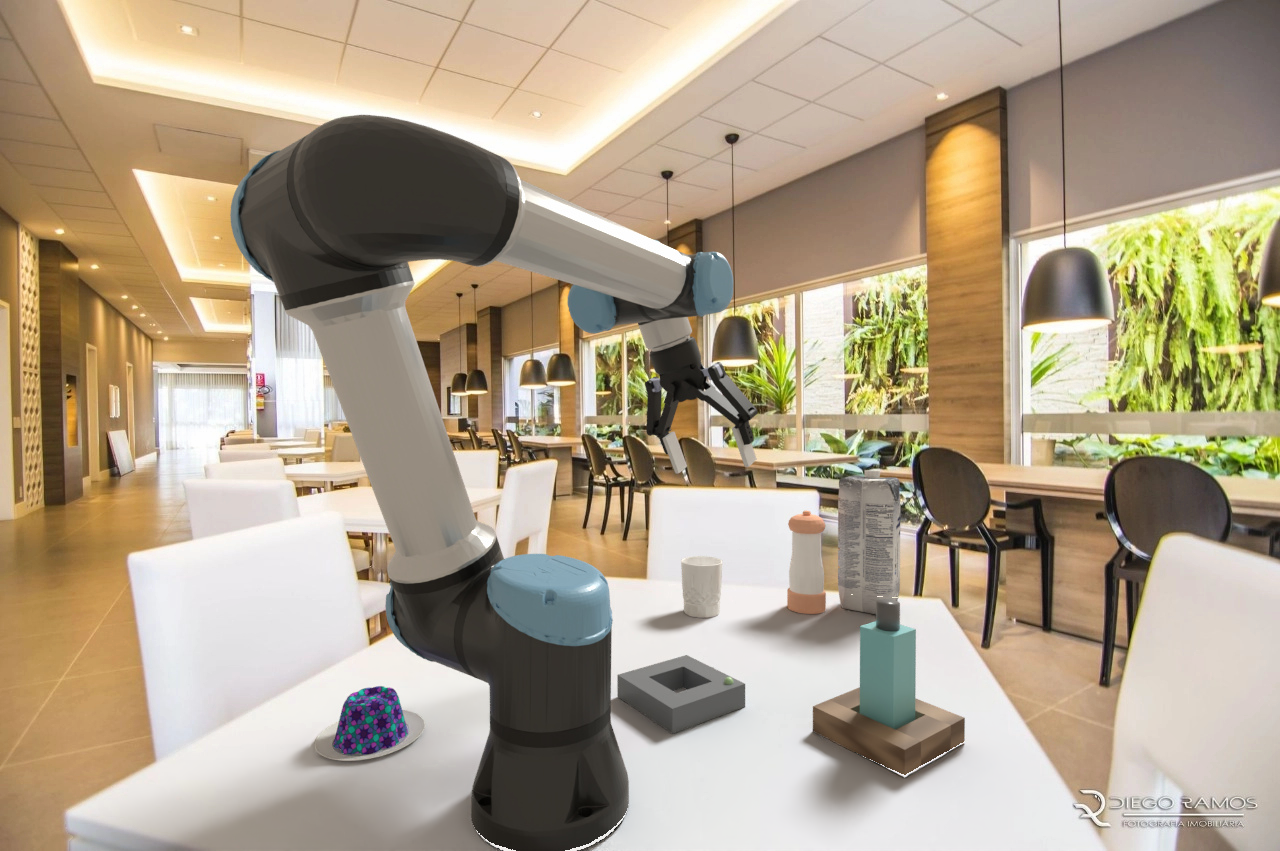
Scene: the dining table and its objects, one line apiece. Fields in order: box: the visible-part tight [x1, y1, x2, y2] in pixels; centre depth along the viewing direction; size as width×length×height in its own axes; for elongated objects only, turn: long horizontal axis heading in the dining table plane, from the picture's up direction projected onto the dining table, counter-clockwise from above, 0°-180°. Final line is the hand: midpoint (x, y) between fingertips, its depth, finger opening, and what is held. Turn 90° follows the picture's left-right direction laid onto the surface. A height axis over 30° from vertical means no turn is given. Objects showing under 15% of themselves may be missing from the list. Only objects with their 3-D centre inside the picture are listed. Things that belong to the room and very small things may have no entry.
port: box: [616, 654, 746, 734], centre depth 83 cm, size 12×12×4 cm
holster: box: [812, 686, 966, 775], centre depth 74 cm, size 12×12×3 cm
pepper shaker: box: [786, 510, 827, 615], centre depth 123 cm, size 7×7×19 cm
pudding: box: [314, 685, 426, 762], centre depth 74 cm, size 12×12×5 cm
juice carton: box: [837, 469, 901, 616], centre depth 123 cm, size 9×10×27 cm
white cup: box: [680, 555, 723, 619], centre depth 121 cm, size 8×8×10 cm
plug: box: [859, 599, 917, 730], centre depth 74 cm, size 4×4×16 cm
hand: (714, 467), depth 102 cm, fingers open, 13 cm apart
